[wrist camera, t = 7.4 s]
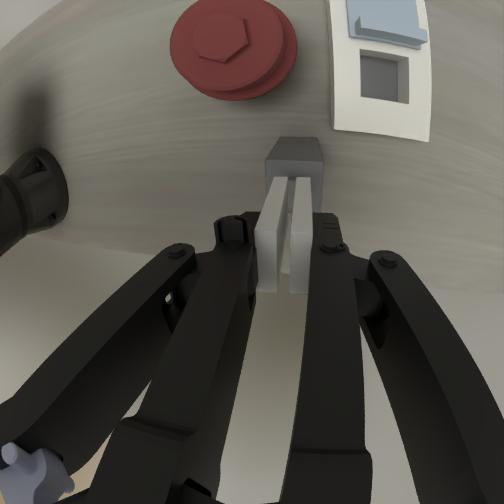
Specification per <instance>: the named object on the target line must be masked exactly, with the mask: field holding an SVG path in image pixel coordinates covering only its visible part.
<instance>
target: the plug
mask: <svg viewBox="0 0 504 504" xmlns="http://www.w3.org/2000/svg"><path fill="white" fill-rule="evenodd" d="M265 166H266V197H267V195H268V192H269V189H270V187H271V184H272V181H273V179H274V177H288V213H293V206H294V197H295V187H296V178H297V177H310V182H311V200H312V212H315V213H321V198H322V180H323V159H322V155H321V151H320V147H319V144H318V140H317V138H310V137H280V138H279V140H278V141H277V143H276V144H275V146H274V147H273V149H272V150H271V152H270V153H269V155H268V156H267V158H266V159H265Z"/></svg>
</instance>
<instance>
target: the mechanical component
mask: <svg viewBox="0 0 504 504" xmlns="http://www.w3.org/2000/svg"><path fill="white" fill-rule="evenodd" d="M170 55H171V58H172V61H173V64H174V66H175V68H176V69H177V70H178V72H179V73H180V74H181V75H182V76H183V77H184V78H185V79H186V80H187V81H188V82H189V83H190V84H191V85H192V86H193V87H194V88H196V89H197V90H199V91H200V92H201V93H203V94H205V95H207V96H210V97H213V98H216V99H221V100H229V101H238V100H248V99H252V98H256V97H259V96H261V95H264V94H266V93H268V92H270V91H271V90H273V89H274V88H276V87H277V86H278V85H279V84H280V83H281V82H283V81H284V79H285V78H286V77H287V76H288V74H289V73H290V71H291V69H292V67H293V65H294V62H295V59H296V55H297V40H296V35H295V31H294V29H293V26H292V24H291V23H290V21H289V19H288V18H287V17H286V16H285V14H284V13H283V12H282V11H280V10H279V9H278V8H277V7H275V6H274V5H272V4H270V3H268V2H266V1H264V0H199V1H197V2H196V3H194V4H193V5H191V6H190V7H189V8H188V9H187V10H186V11H184V13H183V14H182V15H181V16H180V17H179V19H178V21H177V22H176V24H175V26H174V28H173V31H172V34H171V38H170Z"/></svg>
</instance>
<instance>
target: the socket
mask: <svg viewBox="0 0 504 504" xmlns="http://www.w3.org/2000/svg"><path fill="white" fill-rule="evenodd" d="M416 5H417V12H418V19H419V28H421V29H425V30H427V36H428V42H427V43H424V44H421V50H415V49H411V48H407V47H403V46H398V45H393V44H388V43H383V42H378V41H371V40H365V39H358V38H349V32H348V20H347V9H346V0H326V9H327V20H328V34H329V51H330V79H331V126H332V128H333V129H334V130H346V131H357V132H366V133H374V134H382V135H389V136H396V137H402V138H408V139H414V140H419V141H424V142H429V132H430V117H431V55H430V41H429V31H428V22H427V15H426V8H425V2H424V0H416Z"/></svg>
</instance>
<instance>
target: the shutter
mask: <svg viewBox="0 0 504 504" xmlns="http://www.w3.org/2000/svg"><path fill="white" fill-rule="evenodd" d="M346 9H347V20H348V32H349V38H358V39H365V40H371V41H378V42H383V43H388V44H393V45H398V46H403V47H407V48H411V49H415V50H421V44H424V43H427V42H428V36H427V30H425V29H421V28H419V19H418V12H417V5H416V0H346Z"/></svg>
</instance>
